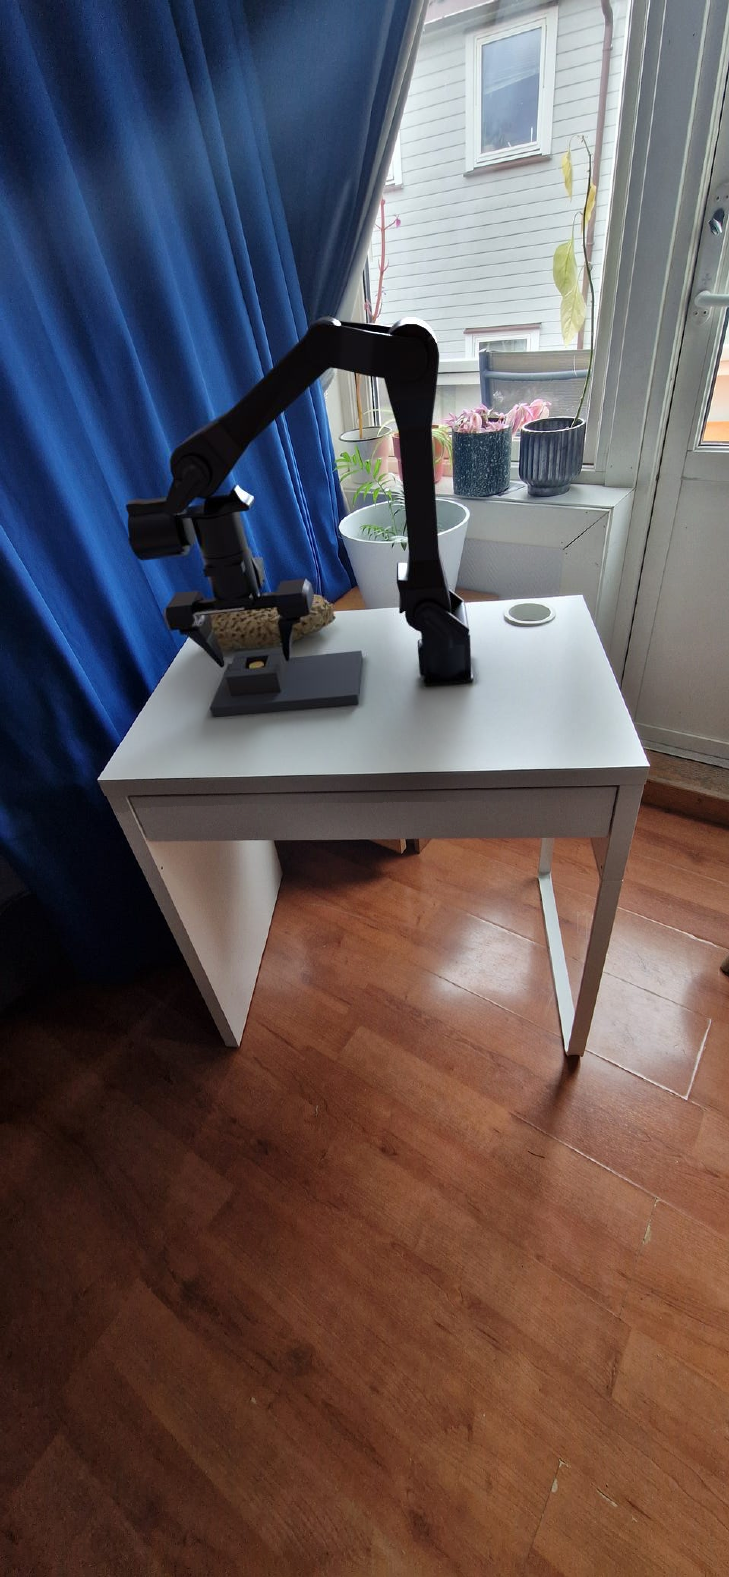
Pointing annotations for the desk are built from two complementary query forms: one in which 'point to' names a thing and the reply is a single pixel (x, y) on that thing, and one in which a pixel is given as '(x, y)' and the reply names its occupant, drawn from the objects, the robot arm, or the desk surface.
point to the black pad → (257, 672)
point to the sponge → (267, 625)
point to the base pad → (299, 686)
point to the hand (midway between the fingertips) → (255, 662)
